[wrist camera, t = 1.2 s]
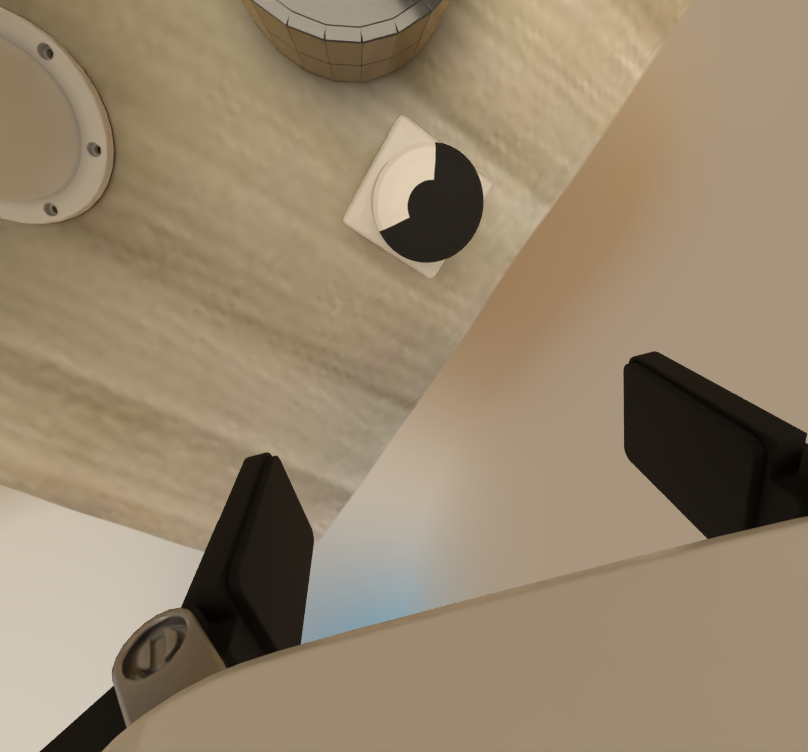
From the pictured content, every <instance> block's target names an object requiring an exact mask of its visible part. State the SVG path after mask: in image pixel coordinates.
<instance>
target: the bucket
mask: <svg viewBox="0 0 808 752" xmlns="http://www.w3.org/2000/svg"><path fill="white" fill-rule="evenodd" d="M241 1H242V3H243V4H244V6H245V8H246V9H247V11H248V12H249V14H250V16H251V17H252V19H253V21H254V22H255V24H256V25H257V26H258V27H259V29H260V30H261V31H262V32H263V33H264V34H265V36H266V37H267V38H268V39H269V40H270V41H271V42H272V44H273V45H274V46H275V47H276V48H277V49H278V50H279V51H280V52H281V53H282V54H284V55H285V56H286V57H288V58H289V59H291V60H292V61H293V62H295V63H296V64H298V65H299V66H300V67H302V68H303V69H306V71H309V72H312V73H314V74H317V75H320V76H323V77H325V78H328V79H331V80H334V81H351V82H363V81H367V80H371V79H374V78H378V77H382V76H386V75H387V74H390V73H391V72H393V71H395V70H396V69H398V68H399V67H401V66H402V65H404V64H406V63H407V62H409V61H410V60H411V59H413V58H414V57H415V55H416V54H417V53H418V52H419V51H420V50H421V49H422V47H423V46H424V45H425V44H426V43H427V42H428V41H429V39H430V38H431V37H432V35H433V34H434V32H435V30H436V28H437V26H438V24H439V22H440V20H441V18H442V16H443V14H444V13H445V11H446V9H447V7H448V5H449V3H450V1H451V0H241Z"/></svg>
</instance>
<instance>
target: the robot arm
mask: <svg viewBox="0 0 808 752" xmlns="http://www.w3.org/2000/svg"><path fill="white" fill-rule="evenodd" d="M51 52H53V57H51ZM98 147H100V149H101V154H100V153H99V152H98ZM113 156H114V146H113V138H112V130H111V126H110V123H109V120H108V116H107V113H106V110H105V107H104V105H103V103H102V101H101V99H100V97H99V95H98V93H97V90H96V88H95V87H94V85H93V84H92V82H91V81H90V79H89V78H88V76H87V75H86V73H85V72H84V70H83V69H82V68H81V66H80V65H79V64H78V63H77V62H76V61H75V59H74V58H73V57H72V56H71V55H70V54H69V53H68V51H67V50H66V49H65V48H63V47H62V46H61V45H60V44H59V43H58V42H57V41H55V40H54V39H53V38H52V37H51V36H50V35H49V34H47V33H46V32H44V31H43V30H41V29H40V28H38V27H37V26H35V25H34V24H32V23H31V22H29V21H28V20H26V19H24V18H22V17H20V16H18V15H16V14H14V13H12V12H10V11H8V10H6V9H4V8H1V7H0V218H3V219H6V220H9V221H15V222H20V223H26V224H47V223H54V222H62V221H65V220H68V219H71V218H74V217H77V216H78V215H80V214H82V213H83V212H85V211H86V210H88V209H90V208H91V207H92V206H93V205H94V204H95V202H96V201H97V200H98V199H99V198H100V197H101V195H102V194H103V192H104V190H105V188H106V187H107V185H108V182H109V179H110V175H111V172H112V169H113ZM56 208H57V210H56ZM57 211H58V212H57ZM806 436H807V433H805V432H803V431H802V430H800V429H798V428H796V427H794V426H792V425H791V424H789V423H787V422H785V421H783V420H781V419H780V418H778V417H776V416H774V415H772V414H770V413H769V412H767V411H765V410H763V409H761V408H759V407H758V406H756V405H754V404H752V403H750V402H748V401H747V400H744V399H743V398H741V397H739V396H737V395H736V394H733V393H731V392H730V391H728V390H726V389H725V388H723V387H721V386H719V385H717V384H715V383H714V382H712V381H710V380H708V379H706V378H704V377H703V376H701V375H699V374H697V373H695V372H693V371H692V370H690V369H688V368H686V367H684V366H682V365H681V364H679V363H677V362H675V361H673V360H671V359H670V358H668V357H666V356H664V355H662V354H660V353H658V352H650V353H646V354H642V355H638V356H634V357H632V358H631V359H630V361H629V364H626V365H625V367H624V449H625V453H626V455H627V457H628V459H629V460H630V461H631V462H632V463H633V464H634V465H635V466H636V467H637V468H638V469H639V470H640V471H641V472H642V473H643V474H644V475H645V476H646V477H647V478H648V479H649V480H650V481H651V482H652V483H653V484H654V485H655V486H656V487H657V488H658V489H659V490H660V491H661V492H662V493H663V494H664V495H665V496H666V497H667V498H668V499H669V500H670V501H671V502H672V503H673V504H674V505H675V506H676V507H677V509H679V510H680V511H681V513H682V514H683V515H684V516H685V517H686V518H687V519H688V520H690V521H691V523H692V524H693V525H694V526H695V527H696V528H697V529H698V530H699V531H700V532H701V533H702V534H703V535H704V536H706V538H707V540H703V541H699V542H695V543H691V544H687V545H683V546H679V547H675V548H671V549H667V550H663V551H659V552H654V553H651V554H647V555H643V556H638V557H635V558H630V559H627V560H623V561H619V562H615V563H611V564H606V565H603V566H599V567H595V568H591V569H587V570H583V571H579V572H575V573H571V574H567V575H564V576H559V577H555V578H551V579H548V580H544V581H540V582H536V583H532V584H528V585H524V586H520V587H516V588H512V589H509V590H505V591H501V592H497V593H493V594H489V595H485V596H481V597H478V598H474V599H470V600H466V601H462V602H458V603H454V604H450V605H447V606H443V607H439V608H435V609H431V610H428V611H424V612H420V613H416V614H412V615H409V616H405V617H401V618H397V619H393V620H389V621H386V622H382V623H378V624H374V625H370V626H367V627H363V628H359V629H355V630H352V631H348V632H344V633H341V634H337V635H334V636H330V637H326V638H323V639H319V640H316V641H313V642H309V643H305V644H301V636H302V630H303V621H304V614H305V606H306V598H307V591H308V583H309V576H310V568H311V560H312V552H313V545H314V537H313V531H312V528H311V526H310V524H309V522H308V519H307V517H306V515H305V513H304V511H303V509H302V506H301V504H300V502H299V500H298V498H297V495H296V493H295V491H294V489H293V487H292V484H291V482H290V480H289V478H288V476H287V474H286V471H285V469H284V467H283V465H282V463H281V460H280V459H279V457H278V456H273V457H272V455H271V454H270V453H268V452H267V453H263V454H259V455H255V456H251V457H248V458H246V459H245V460H244V462H243V465H242V467H241V469H240V472H239V474H238V476H237V479H236V481H235V484H234V486H233V488H232V491H231V493H230V495H229V498H228V500H227V502H226V505H225V507H224V509H223V512H222V514H221V517H220V519H219V521H218V522H217V525H216V527H215V529H214V532H213V534H212V536H211V539H210V541H209V543H208V546H207V548H206V550H205V553H204V555H203V557H202V560H201V562H200V564H199V567H198V569H197V571H196V574H195V576H194V578H193V581H192V583H191V586H190V588H189V590H188V593H187V595H186V597H185V600H184V602H183V604H182V607H181V608H176V609H170V610H168V611H165V612H163V613H160V614H158V615H156V616H155V617H153V618H152V619H150V620H149V621H147V622H146V623H144V624H143V625H142V626H141V627H140V628H139V629H138V630H137V631H135V632H134V633H133V634H132V636H131V637H130V638H129V639H128V640H127V642H126V643H125V644H124V645H123V647H122V649H121V650H120V652H119V654H118V656H117V657H116V659H115V662H114V666H113V669H112V681H113V684H114V686H113V687H112V688H111V689H110V690H108V691H107V692H106V693H105V694H104V695H103V696H102V697H101V698H100V699H98V700H97V701H96V702H95V703H94V704H93V705H92V706H90V707H89V708H88V709H87V710H86V711H85V712H84V713H83V714H82V715H80V716H79V717H78V718H77V719H76V720H75V721H74V722H73V723H71V724H70V725H69V726H68V727H67V728H66V729H65V730H64V731H63V732H61V733H60V734H59V735H58V736H57V737H56V738H55V739H54V740H52V741H51V742H50V743H49V744H48V745H47V746H46V747H45V748H43V749H42V750H41V751H40V752H808V444H807V443H805V441H806Z"/></svg>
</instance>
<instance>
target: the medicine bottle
mask: <svg viewBox="0 0 808 752" xmlns="http://www.w3.org/2000/svg"><path fill="white" fill-rule="evenodd" d="M491 188H492V183H491V182H490V181H489V180H488V179H487V178H485V177H484V176H483V175H482V174H480V173H479V172H478V171H476V170H475V168H474V166H473V165H472V163H471V162H470V161H469V160H468V159H467V158H466V156H465V155H463V154H462V153H461V152H460V151H458V150H457V149H455V148H453V147H451V146H449V145H446V144H443V143H440V142H439V141H438V140H436V139H435V138H434V137H432V136H431V135H430V134H428V133H427V132H426V131H425V130H423V129H422V128H421V127H419V126H418V125H417V124H415V123H414V122H413V121H412V120H410V119H409V118H408V117H406V116H404V115H400V116H399V117H398V118H397V119H396V121H395V123H394V124H393V126H392V128H391V129H390V131H389V133H388V135H387V137H386V139H385V140H384V142H383V144H382V146H381V148H380V150H379V151H378V153H377V155H376V157H375V159H374V161H373V163H372V164H371V166H370V168H369V170H368V172H367V174H366V175H365V177H364V179H363V181H362V183H361V185H360V186H359V188H358V190H357V192H356V194H355V196H354V198H353V199H352V201H351V203H350V205H349V207H348V209H347V210H346V212H345V215H344V217H343V222H344V223H345V225H347V226H348V227H350V228H351V229H353V230H354V231H356V232H358V233H359V234H361V235H362V236H364V237H365V238H367V239H369V240H370V241H372V242H373V243H375V244H376V245H378V246H379V247H381V248H383V249H384V250H386V251H387V252H389V253H390V254H392V255H393V256H395V257H397V258H398V259H400V260H401V261H403V262H404V263H406V264H408V265H409V266H411V267H412V268H414V269H415V270H417V271H418V272H420V273H422V274H423V275H425V276H426V277H428V278H433V277H434V276H435V275H436V274H437V272H438V271H439V269H440V268H441V266H442V264H443V263H444V261H445V260H446V259H447V258H449V257H451V256H453V255H455V254H456V253H458V252H459V251H460V250H462V249H463V248H464V247H465V246H466V245H467V244H468V242H469V241H470V240H471V239H472V237H473V235H474V234H475V232H476V230H477V228H478V226H479V223H480V220H481V217H482V212H483V201H484V200H485V198H486V196H487V195H488V193H489V192H490V190H491Z"/></svg>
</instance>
